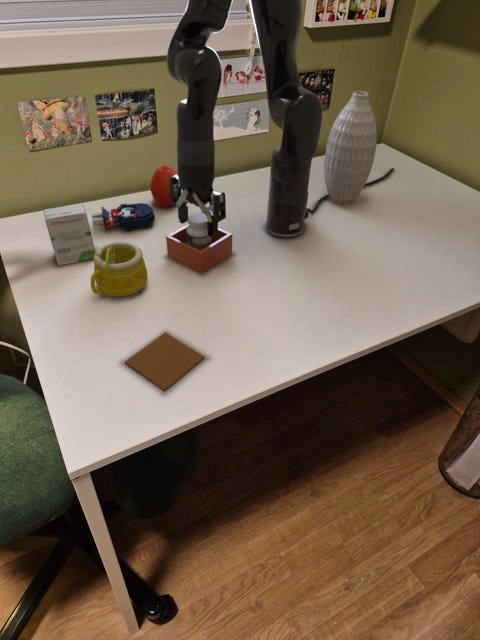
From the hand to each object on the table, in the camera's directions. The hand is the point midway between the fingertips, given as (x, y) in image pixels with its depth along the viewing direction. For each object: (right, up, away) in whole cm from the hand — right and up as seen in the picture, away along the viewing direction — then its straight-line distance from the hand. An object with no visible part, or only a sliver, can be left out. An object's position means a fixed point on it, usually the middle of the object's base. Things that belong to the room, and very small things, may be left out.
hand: (197, 228), depth 104 cm
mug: (-16, -13, -5) cm, 22 cm away
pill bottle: (0, -6, +5) cm, 7 cm away
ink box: (-28, -6, +3) cm, 29 cm away
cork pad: (-4, -28, -21) cm, 35 cm away
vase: (+38, +13, +28) cm, 49 cm away
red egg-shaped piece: (-11, +11, +24) cm, 28 cm away
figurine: (-20, +4, +15) cm, 25 cm away
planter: (0, -5, +5) cm, 7 cm away
